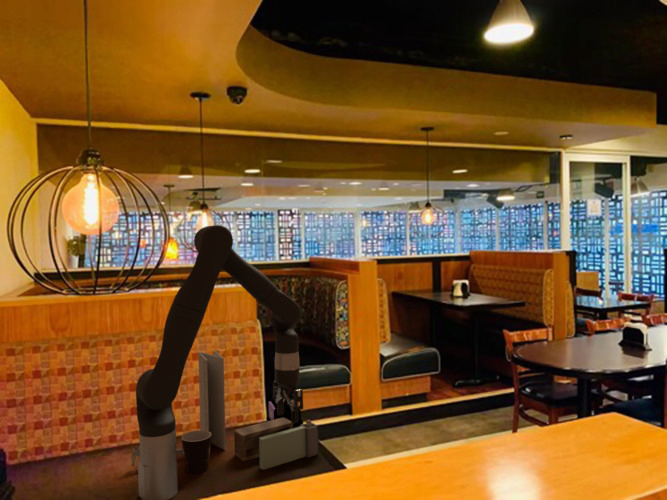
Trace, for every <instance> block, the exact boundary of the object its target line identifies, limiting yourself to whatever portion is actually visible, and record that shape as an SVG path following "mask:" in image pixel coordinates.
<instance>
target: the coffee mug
mask: <svg viewBox="0 0 667 500" xmlns="http://www.w3.org/2000/svg"><path fill="white" fill-rule="evenodd" d="M180 439H181V445H182V449H183V452H184V454H183V458H184V464H185V471H186V473H187V474H190V475H198V474H202V473H205V472H206V471H207V470H209V463H210V453H211V452H210V451H211V444H212V443H211V433H210V432H209V431H204V430H193V431H191V430H190V431H188V432H186V433H184V434H183V435H182V436H181V438H180Z"/></svg>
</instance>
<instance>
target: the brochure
mask: <svg viewBox="0 0 667 500" xmlns="http://www.w3.org/2000/svg"><path fill="white" fill-rule="evenodd" d="M197 353H198V354H197V355H198V357H197V358H198V382H199V383H198V384H199V385H198V388H199V392H198V393H199V395H198V396H199V427H200V428H199V429H200V430H204V431H209V432H210V433H211V443H210V444H212V445H214V446H216V447H217V448H220V449H221V450H224V451H226V450H227V447H226V445H227V443H226V441H227V440H226V439H227V438H226V400H225V365H224V362H225V361H224V357H223V356H222V355H221V354H220V353H219V352H218V351H217V350H215V349H213V354H210V353H207V352H203V351H198V352H197Z"/></svg>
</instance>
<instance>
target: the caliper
mask: <svg viewBox="0 0 667 500" xmlns="http://www.w3.org/2000/svg"><path fill="white" fill-rule="evenodd" d="M178 455H184V452H183V448H176V456H178ZM130 457H131V458H130V459H131V466H132V467H135V463H136V459H137V457H139V458H138V460H140V445H139V446H137V445H135V448H133V449H132V452H131V456H130Z"/></svg>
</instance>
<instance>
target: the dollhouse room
mask: <svg viewBox="0 0 667 500" xmlns="http://www.w3.org/2000/svg"><path fill="white" fill-rule="evenodd" d="M291 411H292V410H291V407H290V406H287V407H285V406H284V415H280V416H279V415H277V408H275V405H274V404H273V403H272V401H270V400H269V401H268V416H266V422H267V421H271V420H275V419H279V418H283V417H284V418H286V419H288V420H290V421H291ZM301 413H302V412H301V410H299V421H298V423H294V424H293V427H296V426H297V427H298V426H300V425H302V424H304V421H303V420H302V415H301Z"/></svg>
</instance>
